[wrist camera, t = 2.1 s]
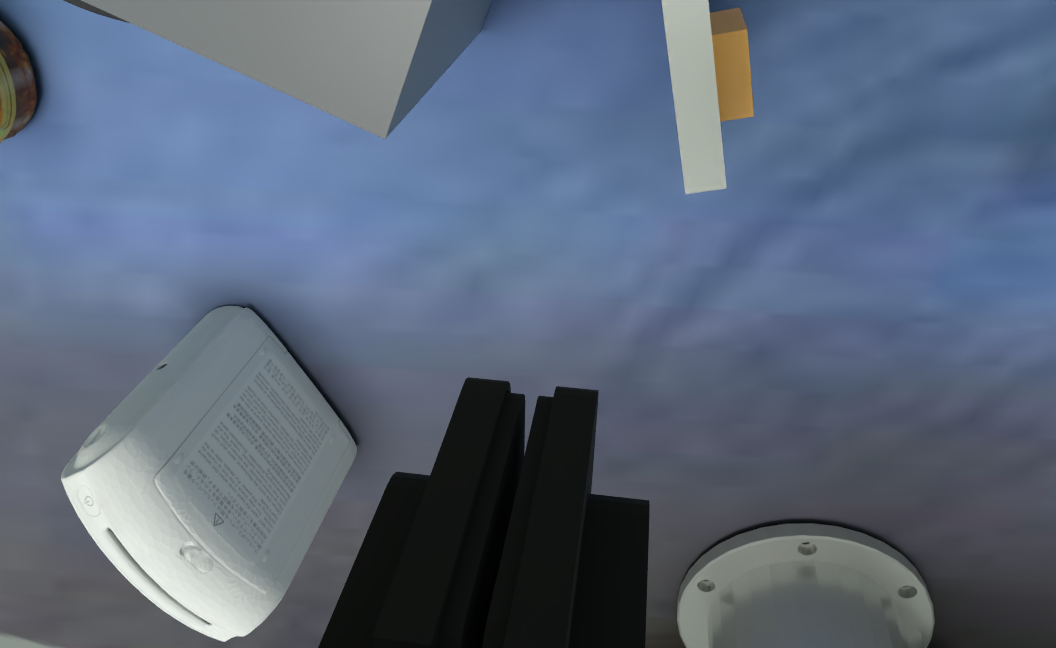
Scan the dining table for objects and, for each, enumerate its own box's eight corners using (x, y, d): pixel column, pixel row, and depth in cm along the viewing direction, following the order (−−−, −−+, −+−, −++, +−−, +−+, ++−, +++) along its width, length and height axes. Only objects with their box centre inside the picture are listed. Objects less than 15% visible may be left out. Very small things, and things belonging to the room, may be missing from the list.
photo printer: (181, 321, 40) (7, 501, 29) (247, 288, 38) (87, 465, 28) (309, 473, 44) (195, 679, 33) (373, 449, 42) (275, 657, 32)
